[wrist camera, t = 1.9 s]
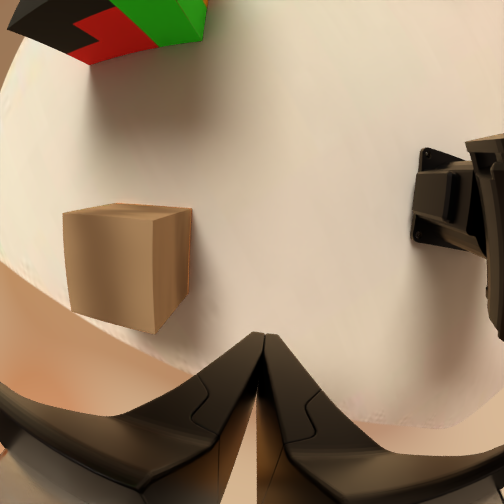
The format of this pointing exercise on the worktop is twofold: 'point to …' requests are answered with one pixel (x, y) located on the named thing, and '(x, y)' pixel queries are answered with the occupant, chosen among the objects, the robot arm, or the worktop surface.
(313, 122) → the worktop surface
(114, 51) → the puzzle toy
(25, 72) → the worktop surface
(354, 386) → the worktop surface
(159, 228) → the walnut cube
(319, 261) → the worktop surface
